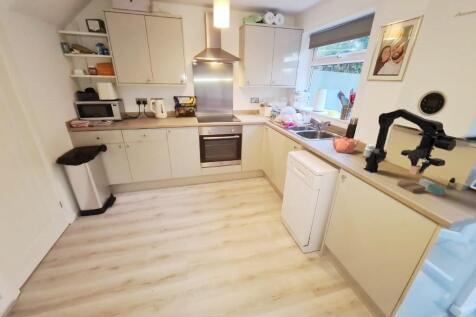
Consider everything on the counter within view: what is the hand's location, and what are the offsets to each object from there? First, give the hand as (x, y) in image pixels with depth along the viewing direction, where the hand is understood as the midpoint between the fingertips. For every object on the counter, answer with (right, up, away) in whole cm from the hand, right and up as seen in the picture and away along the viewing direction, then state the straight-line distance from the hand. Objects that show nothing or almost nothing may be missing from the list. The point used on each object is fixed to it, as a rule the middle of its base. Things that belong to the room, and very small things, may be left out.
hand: (416, 171), depth 114 cm
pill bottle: (+4, +7, +49) cm, 50 cm away
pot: (-7, +14, +67) cm, 69 cm away
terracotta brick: (0, -1, 0) cm, 1 cm away
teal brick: (+10, -12, 0) cm, 16 cm away
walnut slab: (0, -10, +4) cm, 11 cm away
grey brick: (+11, -10, +6) cm, 15 cm away
